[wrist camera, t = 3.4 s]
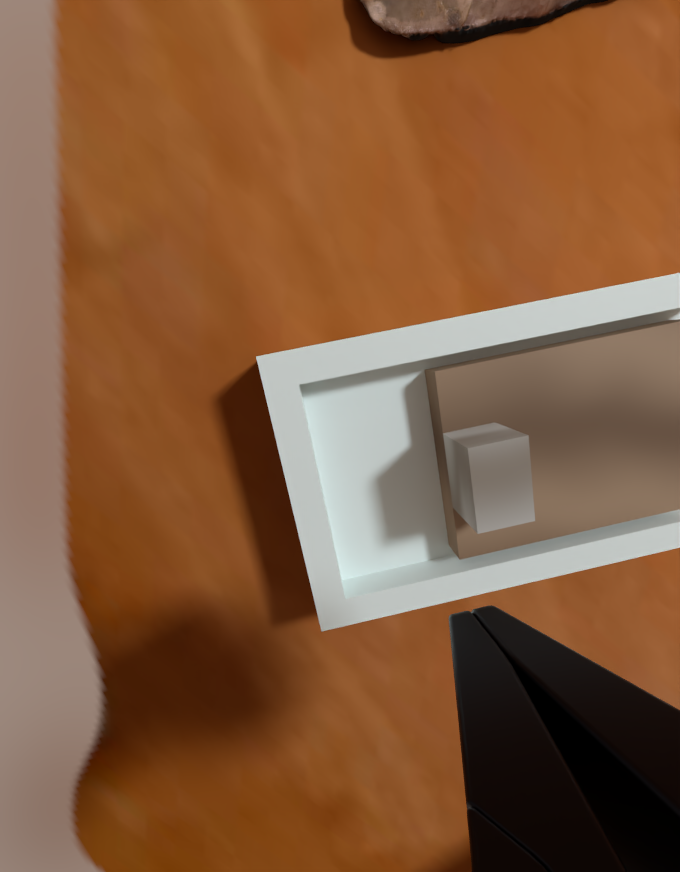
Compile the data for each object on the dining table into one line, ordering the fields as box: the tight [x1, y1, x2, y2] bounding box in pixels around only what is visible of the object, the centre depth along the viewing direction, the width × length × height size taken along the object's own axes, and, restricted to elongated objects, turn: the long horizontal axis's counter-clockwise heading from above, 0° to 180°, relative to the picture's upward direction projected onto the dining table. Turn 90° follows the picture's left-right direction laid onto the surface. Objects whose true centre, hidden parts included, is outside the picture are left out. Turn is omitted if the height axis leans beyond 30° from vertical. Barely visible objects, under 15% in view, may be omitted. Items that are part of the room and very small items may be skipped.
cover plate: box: [425, 319, 680, 560], centre depth 14 cm, size 8×10×3 cm
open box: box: [256, 273, 680, 631], centre depth 16 cm, size 11×17×3 cm, turn 101°
